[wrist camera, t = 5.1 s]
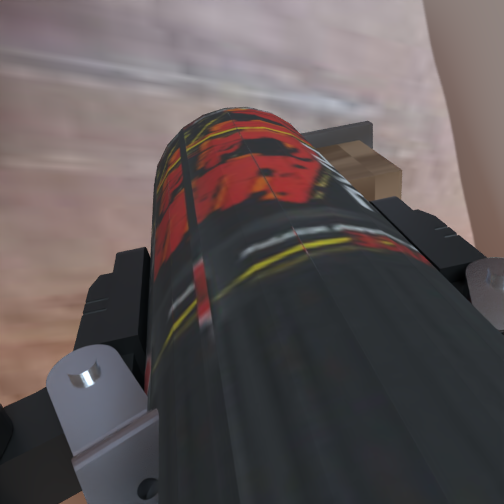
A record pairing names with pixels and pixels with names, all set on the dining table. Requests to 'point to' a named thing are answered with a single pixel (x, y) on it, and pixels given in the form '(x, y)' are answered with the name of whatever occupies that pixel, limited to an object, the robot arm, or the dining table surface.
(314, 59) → the dining table surface
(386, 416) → the deodorant
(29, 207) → the dining table surface
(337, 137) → the sleeve holder
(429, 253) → the robot arm
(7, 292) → the dining table surface
